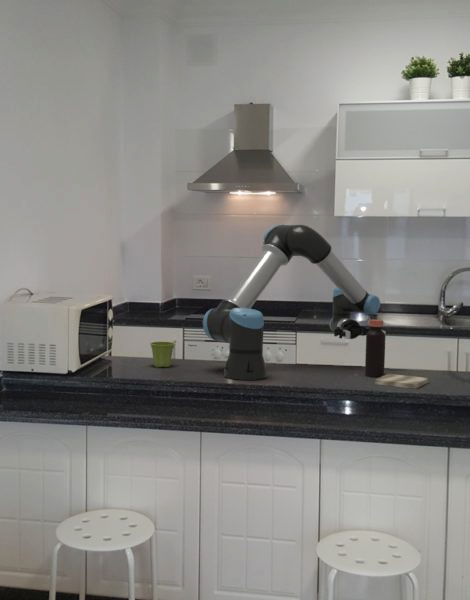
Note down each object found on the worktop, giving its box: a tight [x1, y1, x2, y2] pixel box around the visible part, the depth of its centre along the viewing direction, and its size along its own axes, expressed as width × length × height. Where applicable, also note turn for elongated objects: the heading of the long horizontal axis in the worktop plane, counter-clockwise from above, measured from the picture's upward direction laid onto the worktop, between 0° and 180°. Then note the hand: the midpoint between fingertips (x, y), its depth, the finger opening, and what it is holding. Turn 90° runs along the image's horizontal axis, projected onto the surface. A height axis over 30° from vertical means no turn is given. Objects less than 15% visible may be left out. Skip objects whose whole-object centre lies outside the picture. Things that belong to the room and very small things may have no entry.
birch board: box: [374, 373, 429, 390], centre depth 240 cm, size 14×14×2 cm
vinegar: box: [364, 319, 386, 378], centre depth 253 cm, size 7×7×20 cm
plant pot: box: [149, 341, 176, 368], centre depth 265 cm, size 9×9×9 cm
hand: (367, 335), depth 261 cm, fingers open, 13 cm apart
